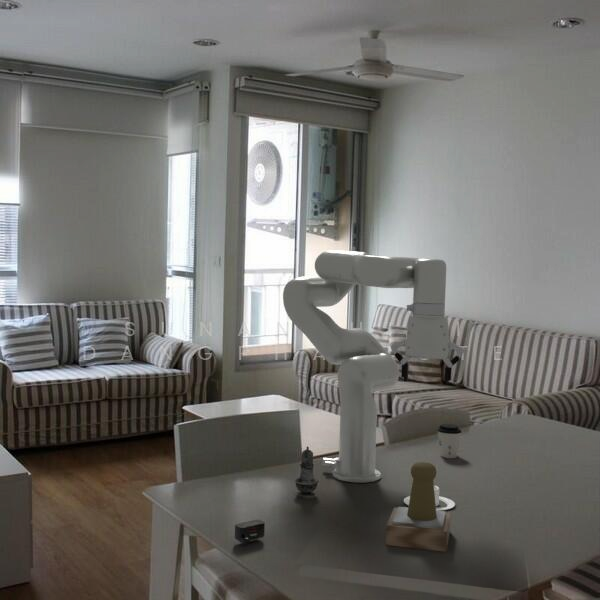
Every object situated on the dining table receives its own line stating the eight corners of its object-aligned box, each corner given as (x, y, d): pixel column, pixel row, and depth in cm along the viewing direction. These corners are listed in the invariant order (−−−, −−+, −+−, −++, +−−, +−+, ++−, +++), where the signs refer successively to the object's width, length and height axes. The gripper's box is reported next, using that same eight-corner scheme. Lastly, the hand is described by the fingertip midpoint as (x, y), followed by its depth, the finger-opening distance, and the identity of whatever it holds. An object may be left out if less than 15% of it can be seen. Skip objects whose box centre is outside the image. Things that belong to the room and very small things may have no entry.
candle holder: (419, 515, 180) (420, 496, 180) (394, 499, 191) (395, 482, 191) (464, 510, 184) (465, 492, 184) (438, 495, 195) (438, 478, 195)
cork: (417, 522, 160) (419, 468, 159) (401, 513, 165) (403, 461, 165) (442, 518, 162) (444, 465, 162) (425, 510, 168) (427, 458, 167)
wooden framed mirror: (385, 544, 159) (386, 522, 159) (393, 525, 171) (394, 504, 171) (446, 551, 157) (447, 528, 156) (449, 531, 168) (450, 510, 168)
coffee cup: (464, 459, 230) (465, 425, 230) (455, 464, 224) (456, 429, 224) (441, 455, 234) (442, 422, 234) (432, 460, 228) (433, 426, 228)
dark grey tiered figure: (322, 494, 193) (323, 445, 192) (312, 500, 187) (313, 450, 187) (300, 490, 195) (301, 442, 194) (289, 496, 190) (291, 447, 189)
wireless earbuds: (230, 540, 160) (230, 525, 160) (257, 533, 164) (258, 519, 164) (242, 547, 156) (243, 531, 156) (270, 540, 161) (271, 525, 161)
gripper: (390, 310, 187) (387, 381, 188) (465, 313, 183) (462, 386, 184) (394, 308, 195) (391, 377, 196) (466, 311, 191) (463, 382, 192)
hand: (425, 381), depth 190 cm, fingers open, 9 cm apart
